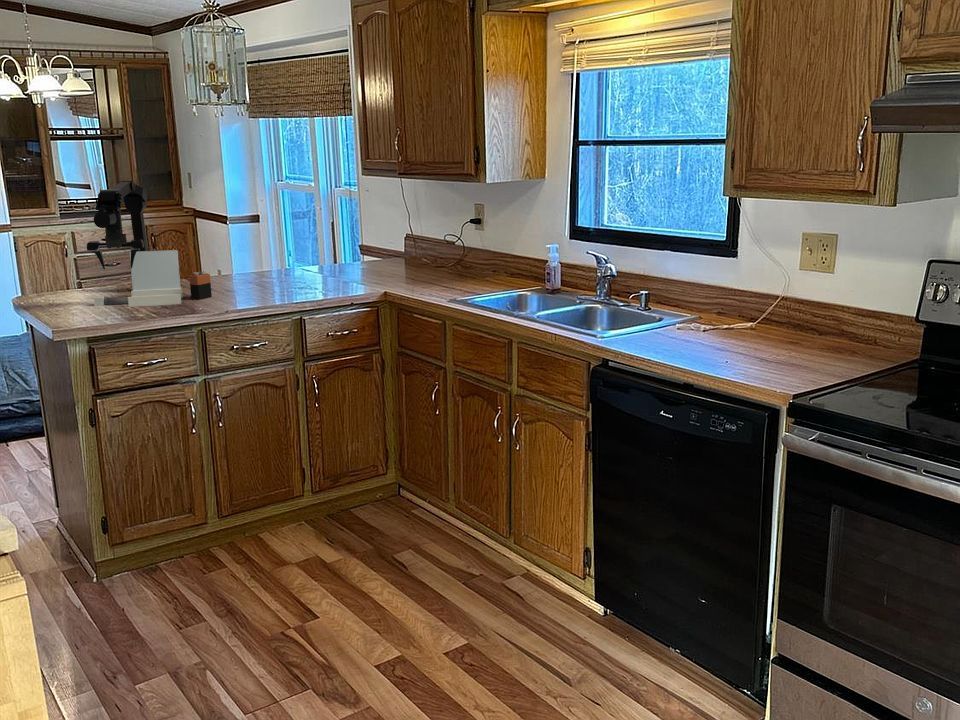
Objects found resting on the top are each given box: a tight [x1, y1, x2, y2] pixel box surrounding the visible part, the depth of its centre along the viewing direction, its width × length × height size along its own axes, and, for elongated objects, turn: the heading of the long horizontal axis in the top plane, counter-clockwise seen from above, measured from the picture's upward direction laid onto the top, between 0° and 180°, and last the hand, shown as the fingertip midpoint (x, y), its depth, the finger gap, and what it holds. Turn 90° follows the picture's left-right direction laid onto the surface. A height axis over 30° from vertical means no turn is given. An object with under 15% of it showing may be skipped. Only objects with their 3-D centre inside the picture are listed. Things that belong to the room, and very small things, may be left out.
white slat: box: [127, 287, 183, 308], centre depth 320 cm, size 14×18×4 cm
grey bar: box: [93, 295, 129, 307], centre depth 316 cm, size 3×12×3 cm, turn 106°
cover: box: [129, 249, 181, 291], centre depth 326 cm, size 14×17×1 cm
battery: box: [188, 271, 212, 300], centre depth 327 cm, size 4×7×10 cm, turn 151°
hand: (118, 268), depth 313 cm, fingers open, 9 cm apart
